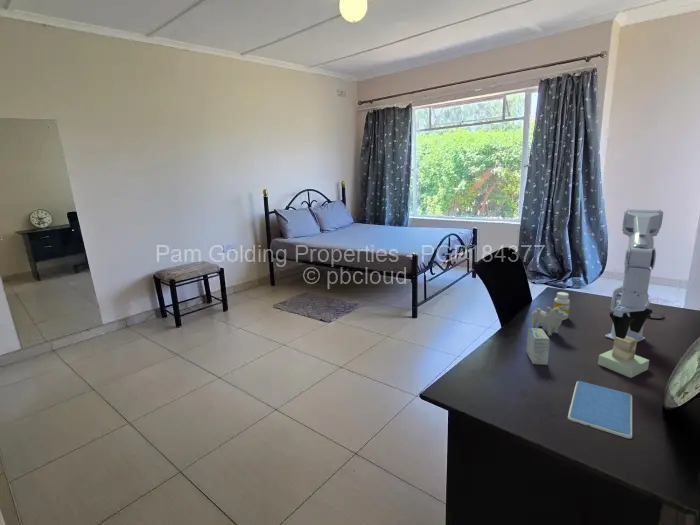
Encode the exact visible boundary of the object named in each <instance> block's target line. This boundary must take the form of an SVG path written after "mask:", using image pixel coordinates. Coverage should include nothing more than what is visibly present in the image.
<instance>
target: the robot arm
mask: <svg viewBox="0 0 700 525" xmlns="http://www.w3.org/2000/svg"><path fill="white" fill-rule="evenodd" d="M663 218H664V211H663V210H662V209H657V210H656V209H630V208H626V209H625V210H624V214H623V220H622V221H623V222H622V234H623V235H625V236H628V247H627V249H626V251H625V256H624V264H623V265H624V272H623V273H624V275H623V282H622V285H619V286H617V287H615V288H614V290H613V293H612V295H611V296H612V297H611V303H610V309H609V310H611V311H610V312H609V317H610V318H611V320H612V326H611V332H610V333H607V334H605V335H604V336H605V337H606V338H609V339H612V340H614V338H615V337H619V338H622V339H625V337H626V336H628V337H631V338H634V339H637V343H638V342H640V341H643V340H646V338H645V336H643V333H644V332H643V331H644V326H645V323H646V321H647V319H648V318H649V317H650V316H651V315H652V313H653V310H652V309H649V307H650V302H651V301H650V300H649V297H650V296H649V295H650V294H649V293H648V290H649V285H650V280H651V273H652V271H653V270H654V267H655V263H656V259H657V252H656V248H655V247H654V246H655V245H654V244H655V239H654V237H657V236H658V234H659V233H660V229H661V228H662V224H663Z"/></svg>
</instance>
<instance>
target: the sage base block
mask: <svg viewBox="0 0 700 525" xmlns="http://www.w3.org/2000/svg"><path fill="white" fill-rule="evenodd" d="M612 351H613V348H612V349H610V350H608V351H605V352H603V353H600V354H599V355H598V358H597V359H598V361H597V365H599V366H601V367H603V368H607V369H608V370H611V371H613V372H616V373H618V374H621V375H623V376H625V377H626V378H630V379H631V378H633V377H634V378H635V377H636V376H637V375H640V374H642V373H643V372H645V371H647V370H649V364H650V359H647V358H645V357H642V356H640V355H637V354H635V356H634V359H631V360H629V361H627V362H626V361H623V360H621V359H618V358H616V357H613V356H612Z"/></svg>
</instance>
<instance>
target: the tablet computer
mask: <svg viewBox="0 0 700 525" xmlns="http://www.w3.org/2000/svg"><path fill="white" fill-rule="evenodd" d="M567 419H568V420H569V421H571V422H574V423H578V424H581V425H582V426H583V425H584V426H587V427H591V428H593V429H597V430H600V431H602V432H607V433H609V434H613V435H616V436H619V437H622V438H625V439H632V438H633V395H632V394H630V393H628V392H624V391H622V390H621V391H619V390H616V389H612V388H610V387H609V388H608V387H605V386H600V385H597V384H592V383H589V382H585V381H581V380H578V381H576V383H575V386H574V391H573V394H572V398H571V403H570V404H569V410H568V415H567Z"/></svg>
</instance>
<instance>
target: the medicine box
mask: <svg viewBox="0 0 700 525" xmlns="http://www.w3.org/2000/svg"><path fill="white" fill-rule="evenodd" d="M550 343H551V342H550V338H549V335H547V334H546V332H545V331H544V329H543V328H538V327H536V328H532V327H531V328H530V327H529V328H528V329H527V339H526V348H525V350H526V351H525V352H526V354H527V356H528V358H529V359H530V361H531V364H532V365H545V366H548V364H549V363H548V362H549V353H550Z"/></svg>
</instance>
